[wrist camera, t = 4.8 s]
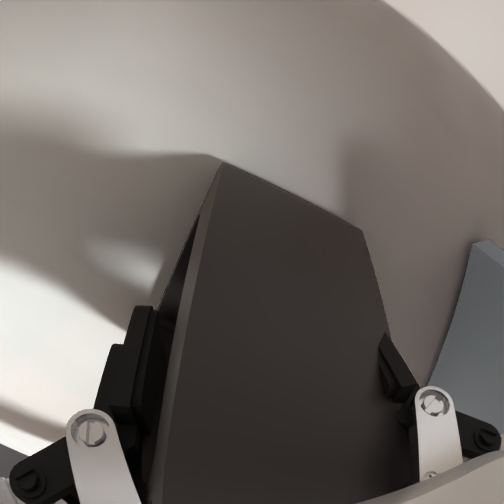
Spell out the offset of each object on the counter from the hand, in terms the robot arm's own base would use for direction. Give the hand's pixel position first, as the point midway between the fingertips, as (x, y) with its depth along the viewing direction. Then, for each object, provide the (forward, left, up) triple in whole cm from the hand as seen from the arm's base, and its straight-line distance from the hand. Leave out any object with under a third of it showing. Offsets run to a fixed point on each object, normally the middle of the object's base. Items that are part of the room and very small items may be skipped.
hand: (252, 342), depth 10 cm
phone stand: (0, 0, -3) cm, 3 cm away
